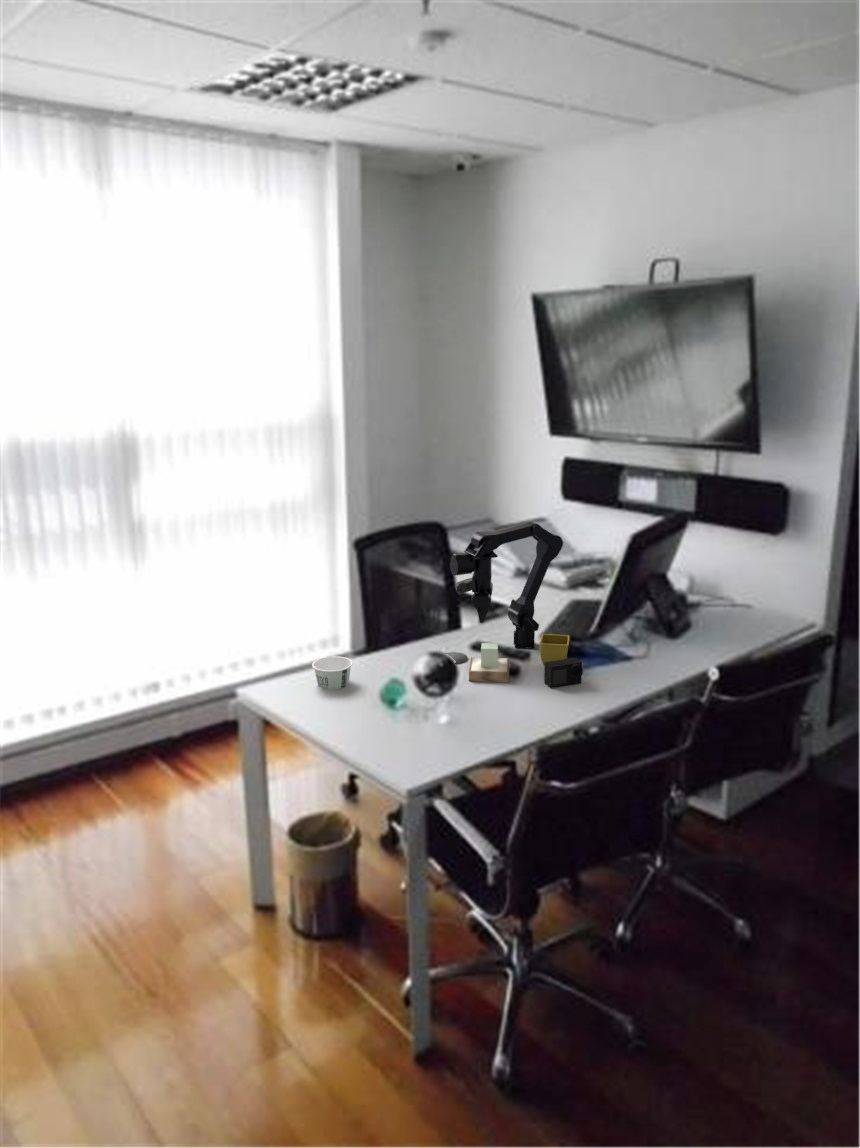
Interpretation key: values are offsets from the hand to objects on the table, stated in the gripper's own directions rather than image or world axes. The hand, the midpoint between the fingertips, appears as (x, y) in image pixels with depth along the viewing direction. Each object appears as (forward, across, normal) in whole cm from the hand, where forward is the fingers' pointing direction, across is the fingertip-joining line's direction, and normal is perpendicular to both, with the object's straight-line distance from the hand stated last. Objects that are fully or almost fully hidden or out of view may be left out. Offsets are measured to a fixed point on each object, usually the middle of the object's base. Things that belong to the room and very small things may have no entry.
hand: (482, 618), depth 285 cm
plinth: (+12, +18, +3) cm, 22 cm away
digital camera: (+12, +24, +25) cm, 37 cm away
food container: (+12, +29, -44) cm, 54 cm away
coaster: (+12, +6, -9) cm, 16 cm away
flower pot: (+12, +10, +23) cm, 28 cm away
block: (+9, +18, +3) cm, 20 cm away
